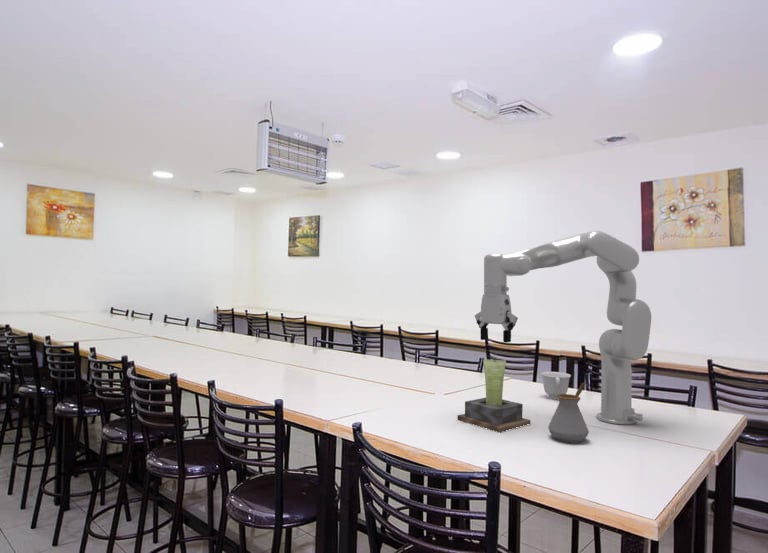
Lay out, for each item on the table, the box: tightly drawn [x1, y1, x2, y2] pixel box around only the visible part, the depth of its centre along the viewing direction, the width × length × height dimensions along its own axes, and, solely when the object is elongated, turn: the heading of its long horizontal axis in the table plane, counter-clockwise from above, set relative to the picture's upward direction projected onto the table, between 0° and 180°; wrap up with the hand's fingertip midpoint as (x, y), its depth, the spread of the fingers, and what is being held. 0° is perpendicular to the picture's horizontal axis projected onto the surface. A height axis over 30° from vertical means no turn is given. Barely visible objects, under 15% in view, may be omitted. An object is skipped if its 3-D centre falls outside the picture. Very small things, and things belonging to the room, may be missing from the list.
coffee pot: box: [547, 382, 590, 444], centre depth 151 cm, size 21×12×15 cm, turn 141°
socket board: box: [456, 397, 531, 433], centre depth 164 cm, size 18×16×6 cm
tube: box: [482, 358, 507, 407], centre depth 165 cm, size 6×5×20 cm
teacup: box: [540, 371, 572, 400], centre depth 202 cm, size 12×15×10 cm
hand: (495, 340), depth 165 cm, fingers open, 9 cm apart
